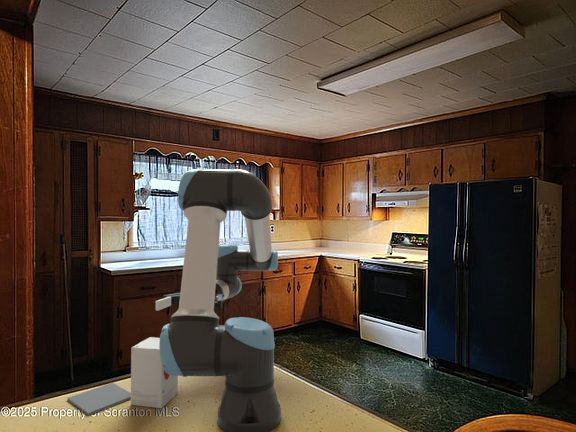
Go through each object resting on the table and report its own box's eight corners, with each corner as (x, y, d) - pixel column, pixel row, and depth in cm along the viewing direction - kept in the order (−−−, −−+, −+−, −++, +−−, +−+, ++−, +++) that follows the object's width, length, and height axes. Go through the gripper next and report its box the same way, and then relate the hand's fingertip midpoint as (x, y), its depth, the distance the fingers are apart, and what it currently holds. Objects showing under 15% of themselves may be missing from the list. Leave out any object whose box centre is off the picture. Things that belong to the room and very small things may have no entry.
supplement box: (161, 409, 98) (161, 350, 98) (129, 405, 100) (129, 347, 100) (179, 393, 107) (179, 338, 107) (149, 389, 109) (149, 336, 109)
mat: (134, 397, 104) (134, 395, 104) (88, 415, 95) (88, 413, 95) (112, 384, 112) (112, 382, 112) (67, 400, 102) (67, 397, 102)
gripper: (247, 307, 128) (215, 325, 108) (181, 301, 136) (140, 316, 116) (247, 284, 128) (215, 298, 108) (181, 279, 136) (140, 291, 116)
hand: (176, 307), depth 112 cm, fingers open, 13 cm apart
